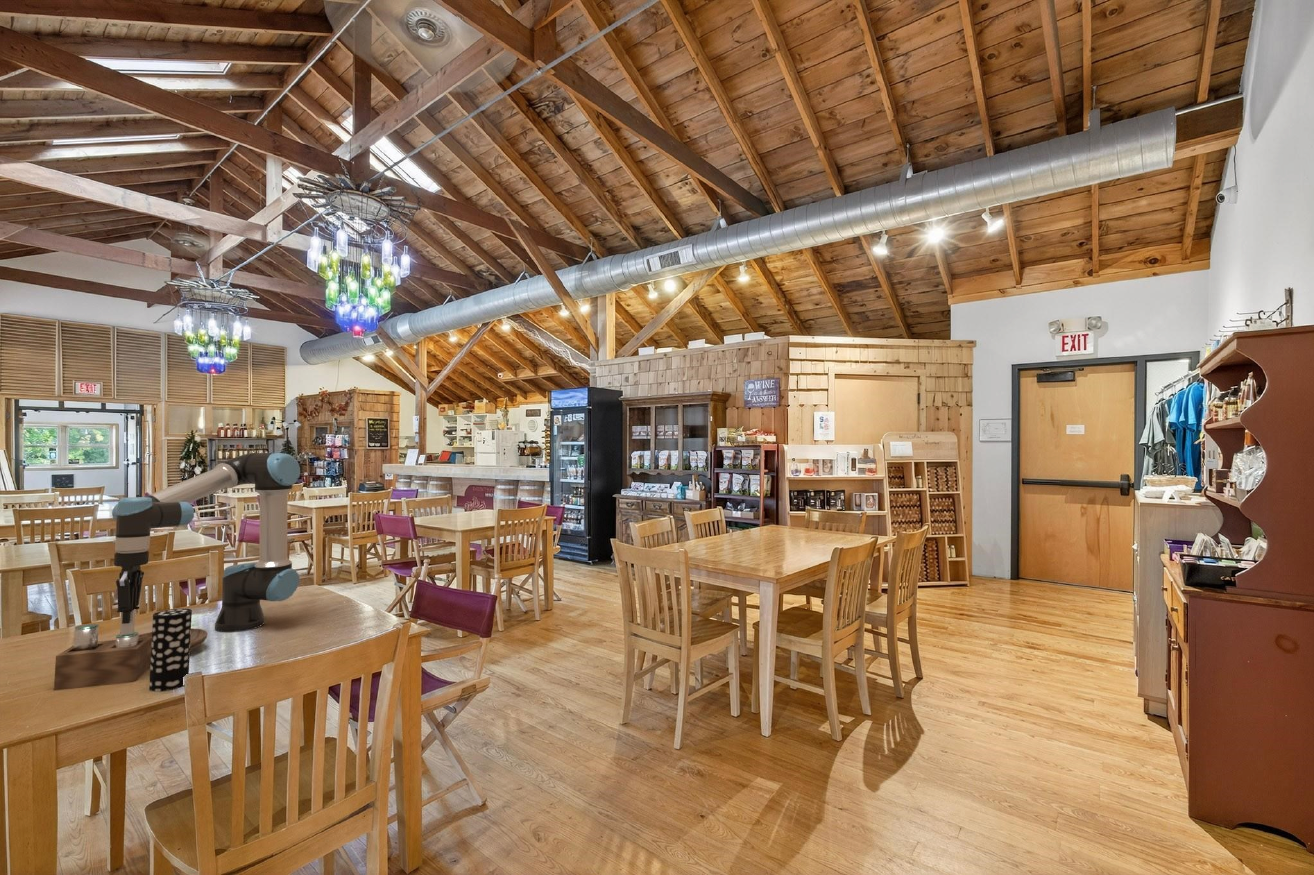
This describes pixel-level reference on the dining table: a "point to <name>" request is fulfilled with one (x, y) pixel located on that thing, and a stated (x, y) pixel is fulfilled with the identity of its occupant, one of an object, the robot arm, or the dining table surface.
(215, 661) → the dining table surface
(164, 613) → the white-spotted black cylinder
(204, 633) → the ceramic bowl
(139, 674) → the walnut block
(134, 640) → the peg
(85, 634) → the peg
